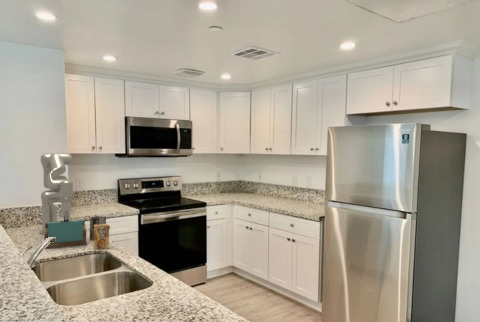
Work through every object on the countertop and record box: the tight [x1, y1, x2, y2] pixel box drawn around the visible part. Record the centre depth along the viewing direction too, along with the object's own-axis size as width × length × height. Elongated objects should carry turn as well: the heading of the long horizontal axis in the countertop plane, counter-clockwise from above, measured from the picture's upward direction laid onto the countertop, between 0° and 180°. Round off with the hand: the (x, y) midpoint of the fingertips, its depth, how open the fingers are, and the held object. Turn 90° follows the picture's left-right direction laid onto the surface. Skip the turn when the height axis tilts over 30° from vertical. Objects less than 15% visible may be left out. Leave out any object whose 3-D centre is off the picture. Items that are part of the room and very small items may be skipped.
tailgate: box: [48, 219, 84, 243], centre depth 217 cm, size 1×20×14 cm, turn 118°
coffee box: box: [89, 215, 107, 241], centre depth 235 cm, size 9×6×16 cm
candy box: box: [93, 223, 110, 250], centre depth 216 cm, size 9×4×15 cm, turn 116°
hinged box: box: [43, 219, 87, 250], centre depth 225 cm, size 16×24×13 cm, turn 118°
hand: (65, 227), depth 218 cm, fingers closed
